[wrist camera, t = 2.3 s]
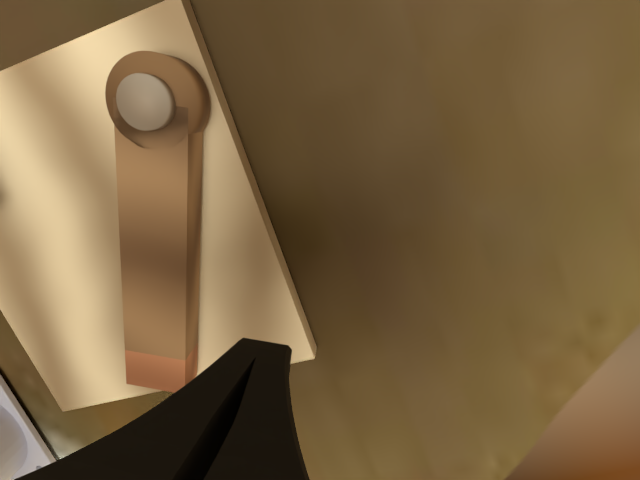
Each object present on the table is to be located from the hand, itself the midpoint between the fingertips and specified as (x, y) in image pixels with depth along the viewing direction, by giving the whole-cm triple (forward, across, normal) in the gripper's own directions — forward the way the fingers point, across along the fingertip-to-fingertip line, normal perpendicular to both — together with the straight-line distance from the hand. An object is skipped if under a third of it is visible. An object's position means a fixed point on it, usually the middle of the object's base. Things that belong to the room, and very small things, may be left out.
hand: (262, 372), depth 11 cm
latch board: (+9, +10, +1) cm, 13 cm away
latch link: (+8, +7, 0) cm, 10 cm away
